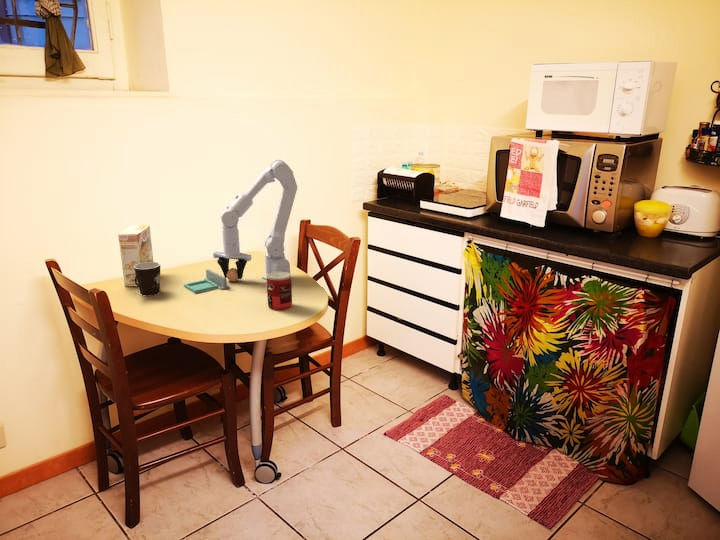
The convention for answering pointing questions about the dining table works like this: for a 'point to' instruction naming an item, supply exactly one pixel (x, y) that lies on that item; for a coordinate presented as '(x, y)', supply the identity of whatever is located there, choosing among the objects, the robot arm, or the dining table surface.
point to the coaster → (201, 286)
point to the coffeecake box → (134, 250)
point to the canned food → (279, 290)
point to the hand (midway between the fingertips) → (233, 277)
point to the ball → (232, 274)
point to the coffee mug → (148, 277)
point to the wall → (216, 279)
